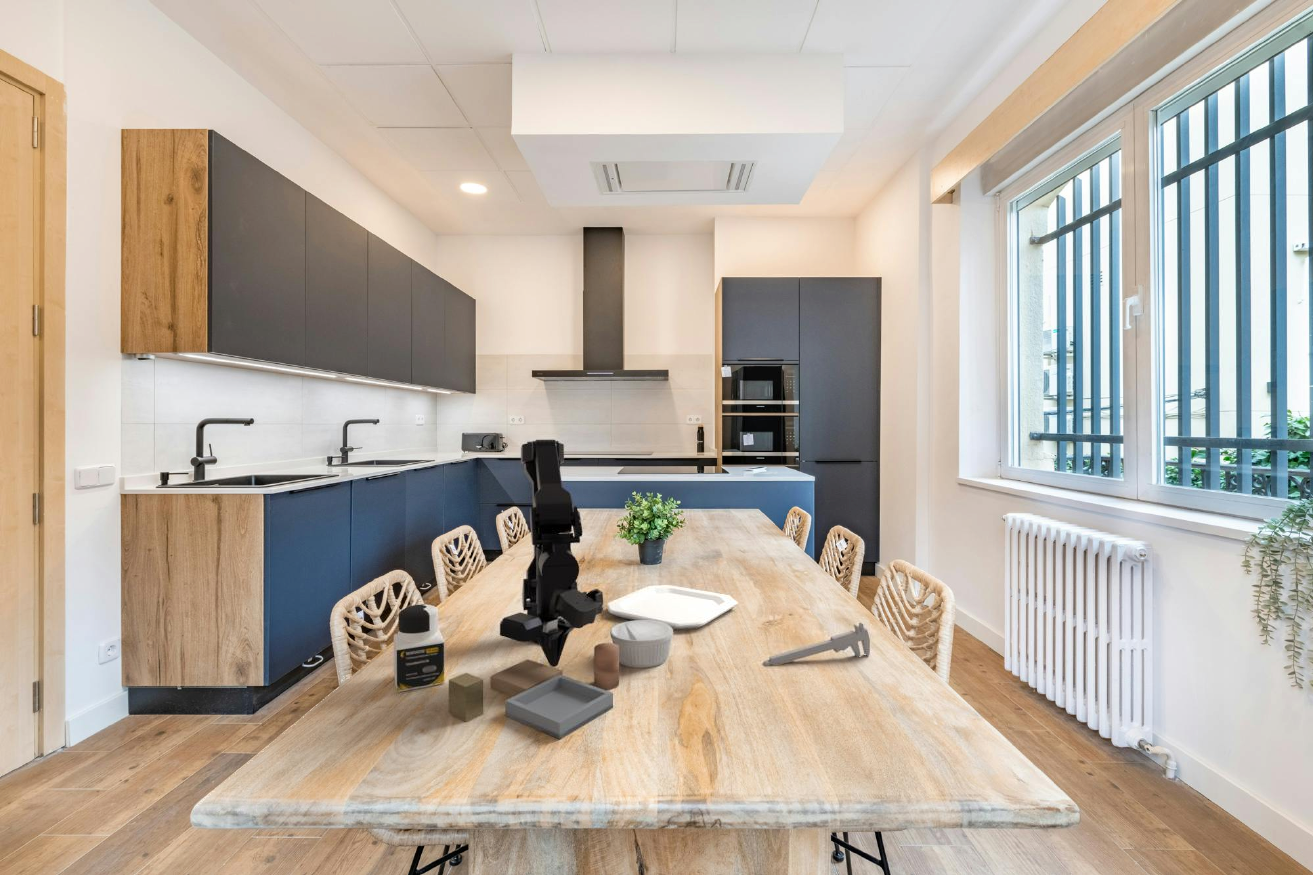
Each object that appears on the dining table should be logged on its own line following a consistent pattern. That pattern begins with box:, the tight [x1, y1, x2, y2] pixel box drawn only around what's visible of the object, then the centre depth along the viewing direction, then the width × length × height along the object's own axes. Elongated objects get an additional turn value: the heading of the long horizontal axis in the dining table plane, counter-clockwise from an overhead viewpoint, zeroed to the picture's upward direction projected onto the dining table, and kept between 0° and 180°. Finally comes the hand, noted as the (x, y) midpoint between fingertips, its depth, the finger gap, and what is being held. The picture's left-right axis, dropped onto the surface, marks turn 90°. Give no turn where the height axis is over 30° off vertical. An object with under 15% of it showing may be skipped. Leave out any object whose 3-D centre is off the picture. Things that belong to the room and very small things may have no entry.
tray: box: [504, 674, 614, 740], centre depth 85 cm, size 11×11×2 cm
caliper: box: [762, 622, 871, 667], centre depth 105 cm, size 20×1×6 cm, turn 103°
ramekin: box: [610, 620, 674, 669], centre depth 106 cm, size 11×11×5 cm
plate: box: [605, 584, 738, 630], centre depth 133 cm, size 25×25×2 cm
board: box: [489, 659, 563, 698], centre depth 94 cm, size 8×8×2 cm
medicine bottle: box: [393, 603, 445, 693], centre depth 96 cm, size 7×7×12 cm
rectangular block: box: [448, 672, 484, 723], centre depth 85 cm, size 3×4×5 cm
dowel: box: [593, 642, 620, 691], centre depth 95 cm, size 4×4×6 cm
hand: (553, 665), depth 99 cm, fingers closed
